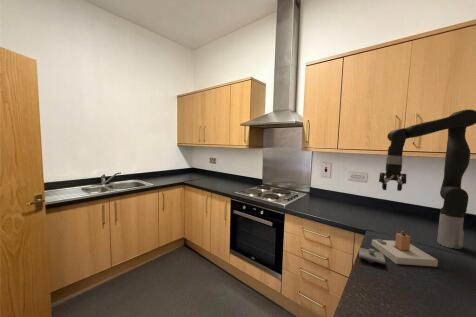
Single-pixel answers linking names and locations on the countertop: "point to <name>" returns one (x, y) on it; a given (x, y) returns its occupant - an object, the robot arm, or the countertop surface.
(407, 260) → the socket
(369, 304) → the countertop surface
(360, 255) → the light switch
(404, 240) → the plug
